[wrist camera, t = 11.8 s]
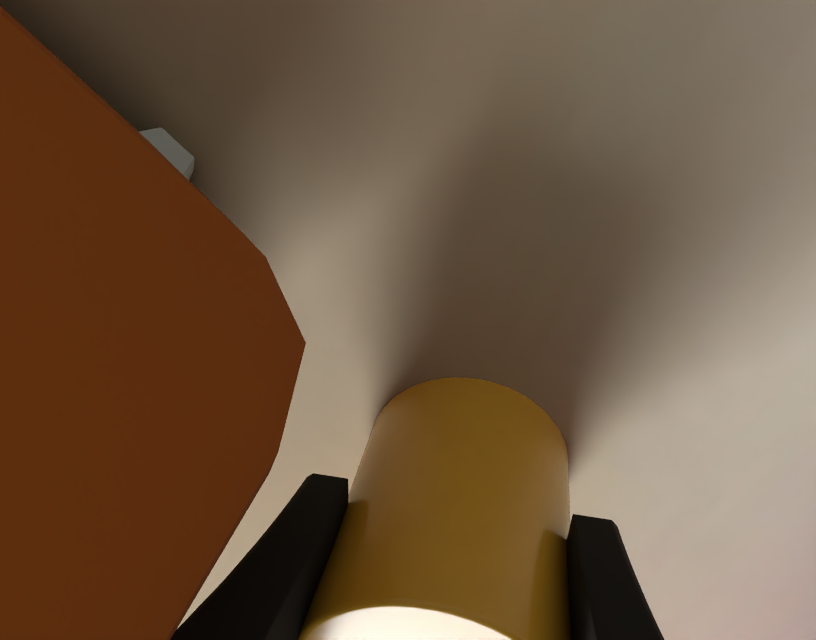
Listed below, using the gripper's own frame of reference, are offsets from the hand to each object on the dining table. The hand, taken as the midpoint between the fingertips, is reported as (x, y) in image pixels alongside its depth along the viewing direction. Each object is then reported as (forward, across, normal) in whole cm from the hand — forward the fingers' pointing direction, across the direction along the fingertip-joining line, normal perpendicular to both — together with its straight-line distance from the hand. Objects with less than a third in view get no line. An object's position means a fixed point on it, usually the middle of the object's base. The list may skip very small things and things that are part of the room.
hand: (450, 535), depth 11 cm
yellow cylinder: (+2, 0, 0) cm, 3 cm away
